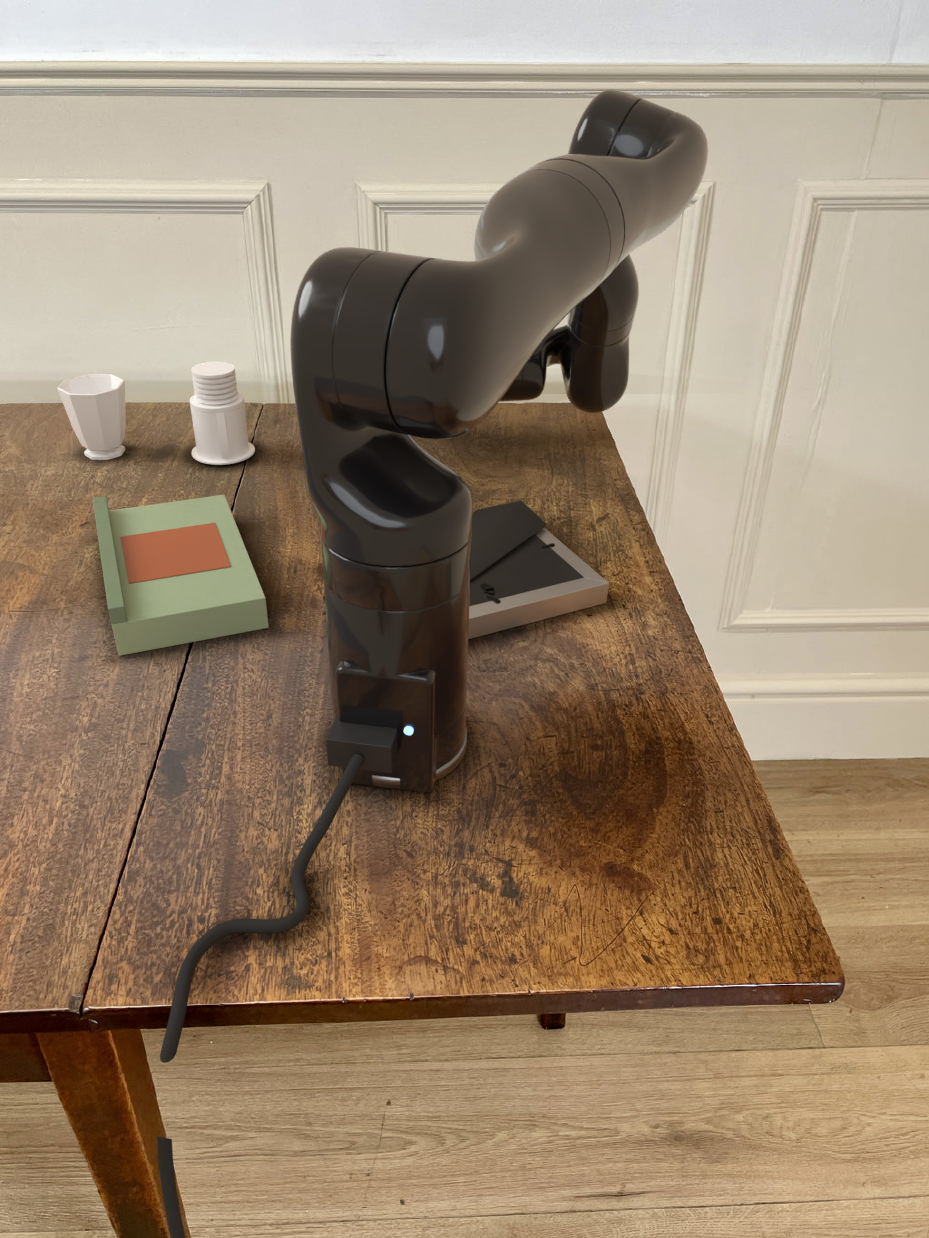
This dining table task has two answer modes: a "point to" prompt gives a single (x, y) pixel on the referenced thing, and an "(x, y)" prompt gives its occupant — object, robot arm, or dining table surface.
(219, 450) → the downlight
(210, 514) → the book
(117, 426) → the cup
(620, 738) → the dining table surface
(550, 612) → the picture frame
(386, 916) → the dining table surface
